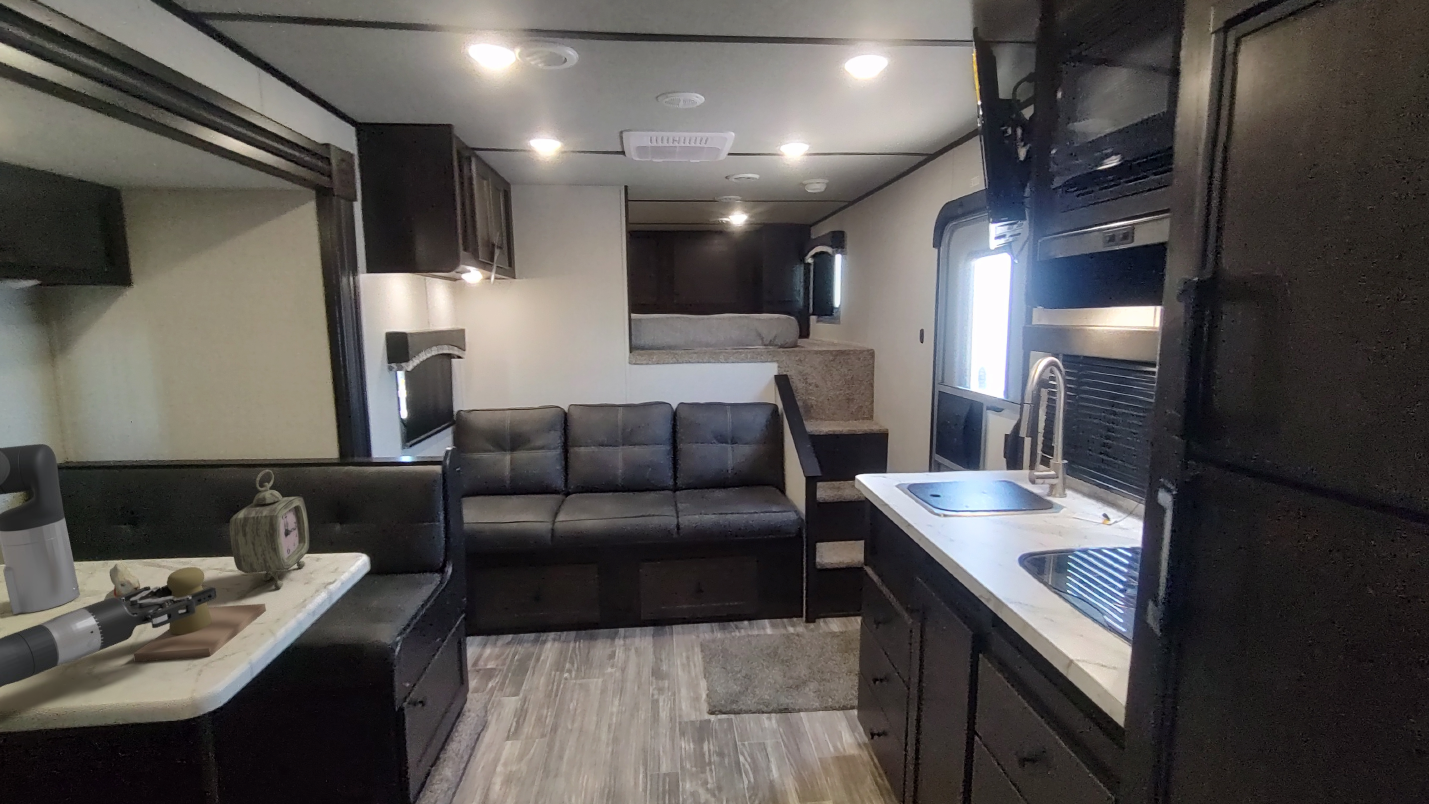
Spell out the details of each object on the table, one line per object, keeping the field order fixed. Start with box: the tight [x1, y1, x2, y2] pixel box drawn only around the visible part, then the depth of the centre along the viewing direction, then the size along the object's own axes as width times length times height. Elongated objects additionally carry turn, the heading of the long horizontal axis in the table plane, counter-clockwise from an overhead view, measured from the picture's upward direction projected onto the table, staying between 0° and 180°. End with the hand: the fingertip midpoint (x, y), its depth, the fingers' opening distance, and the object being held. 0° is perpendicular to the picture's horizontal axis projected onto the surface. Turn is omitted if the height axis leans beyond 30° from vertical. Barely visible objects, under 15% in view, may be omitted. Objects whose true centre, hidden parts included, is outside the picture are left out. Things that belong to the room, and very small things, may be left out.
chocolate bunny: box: [103, 562, 141, 600], centre depth 123 cm, size 6×8×10 cm
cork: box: [166, 566, 212, 635], centre depth 113 cm, size 6×6×11 cm
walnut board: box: [133, 603, 267, 662], centre depth 114 cm, size 16×12×2 cm
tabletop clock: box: [229, 469, 310, 590], centre depth 134 cm, size 14×9×25 cm, turn 12°
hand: (200, 588), depth 113 cm, fingers open, 8 cm apart
